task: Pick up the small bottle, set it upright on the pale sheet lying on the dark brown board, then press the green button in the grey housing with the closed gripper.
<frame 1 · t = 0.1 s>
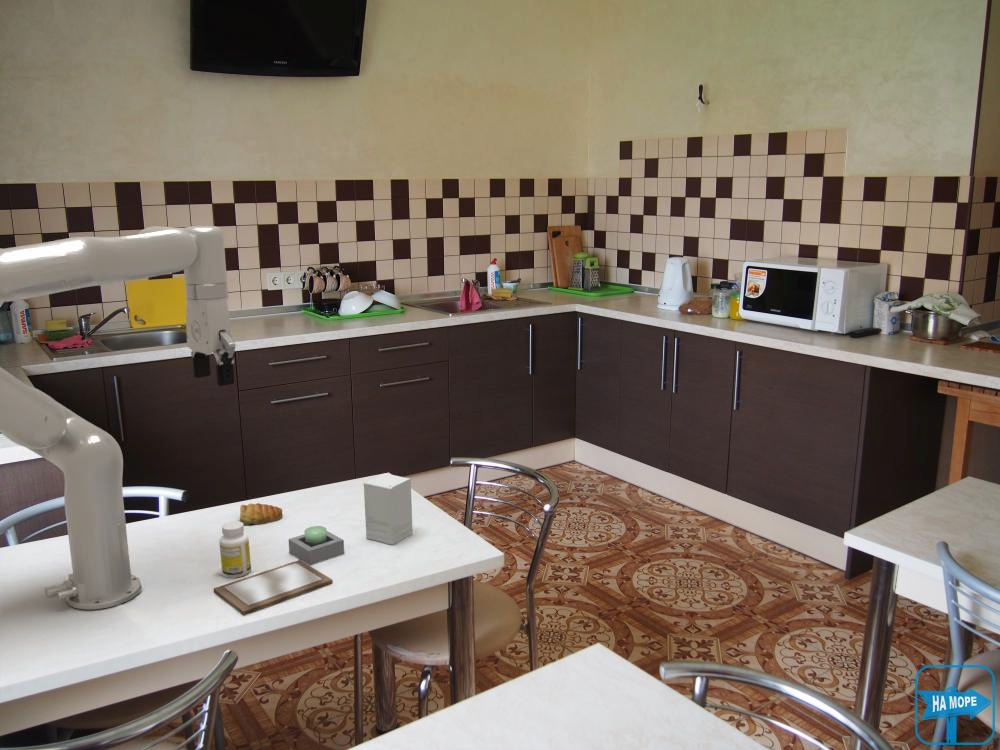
hand: (214, 380, 166), 37 cm above the table, tool pointing down, fingers open, 9 cm apart
board: (273, 587, 160), on the table
supplement box: (389, 537, 184), on the table
button: (315, 534, 174), point 4 cm above the table, slide at 0.0 cm
button housing: (316, 553, 175), on the table
pastry: (258, 520, 193), on the table
supplement bottle: (236, 573, 167), on the table
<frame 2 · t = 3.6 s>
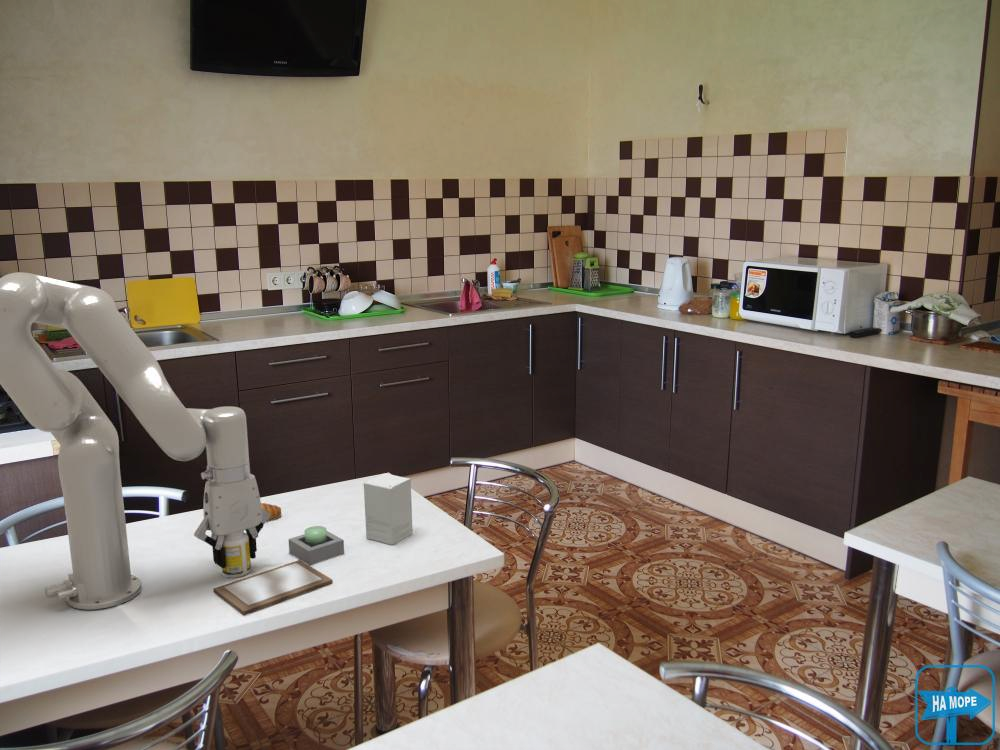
hand: (235, 560, 166), 3 cm above the table, tool pointing down, fingers closed on supplement bottle, 5 cm apart
supplement bottle: (236, 573, 167), on the table, touching gripper
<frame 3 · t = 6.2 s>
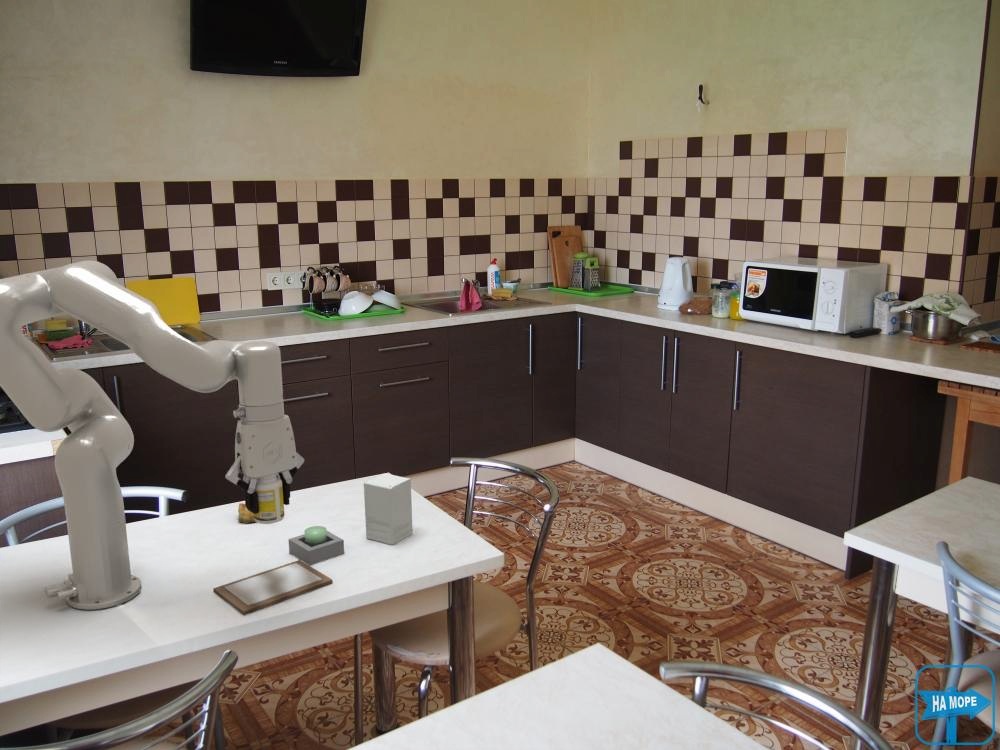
hand: (268, 506, 157), 16 cm above the table, tool pointing down, fingers closed on supplement bottle, 5 cm apart
supplement bottle: (269, 520, 157), point 13 cm above the table, touching gripper
when the fingers open (4 cm above the table, at t = 9.0 s): supplement bottle stays where it is, resting on board.
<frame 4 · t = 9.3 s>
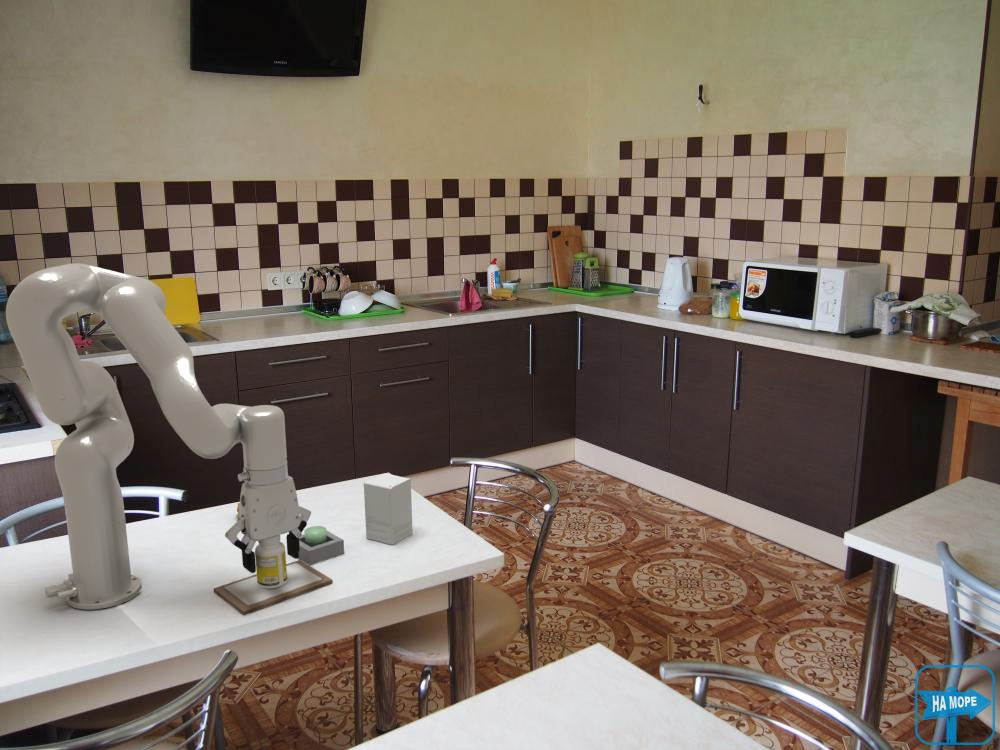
hand: (272, 563, 159), 5 cm above the table, tool pointing down, fingers open, 8 cm apart
supplement bottle: (272, 584, 160), point 1 cm above the table, touching board
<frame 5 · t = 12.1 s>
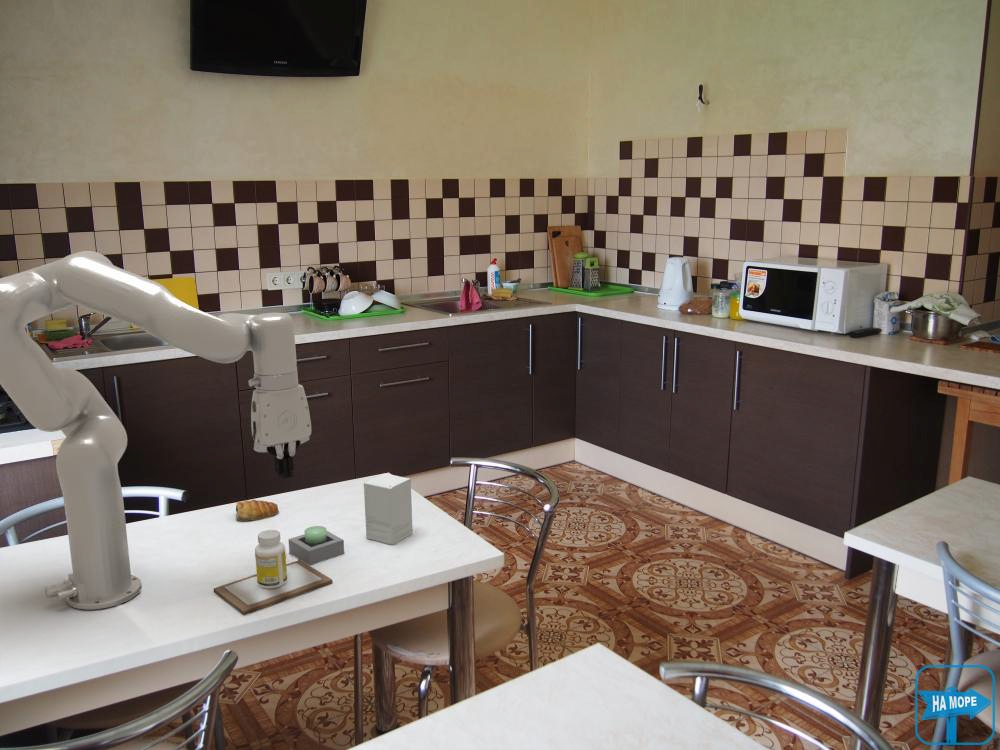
hand: (284, 476, 161), 20 cm above the table, tool pointing down, fingers closed
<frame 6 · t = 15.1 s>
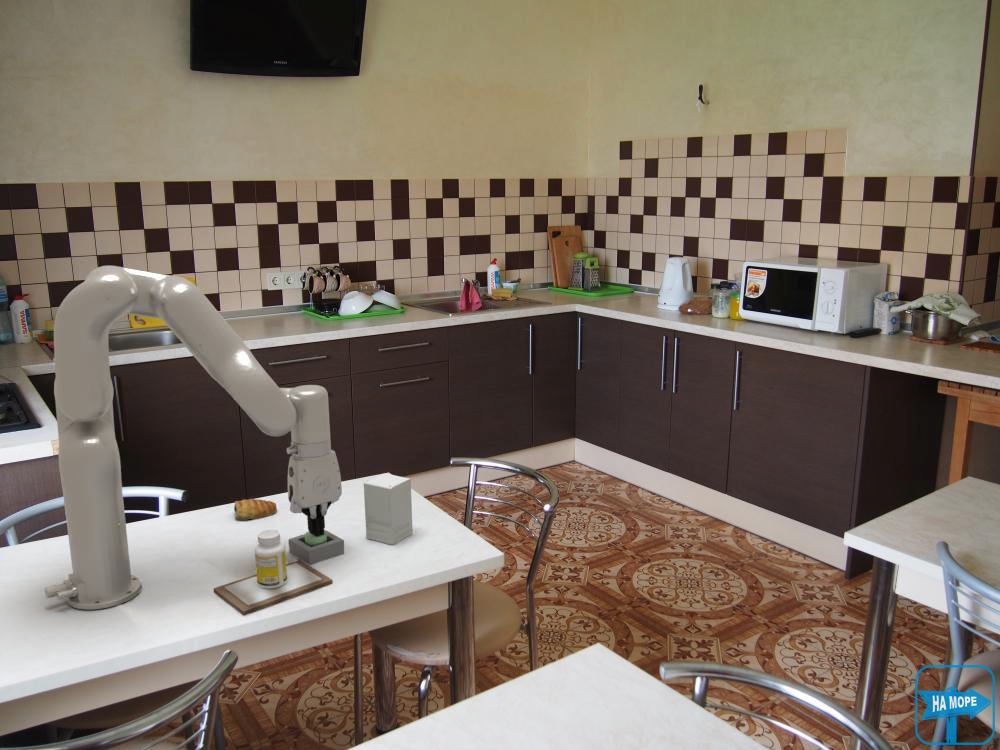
hand: (316, 533, 175), 4 cm above the table, tool pointing down, fingers closed
button: (315, 538, 175), point 3 cm above the table, slide at -0.9 cm, touching gripper
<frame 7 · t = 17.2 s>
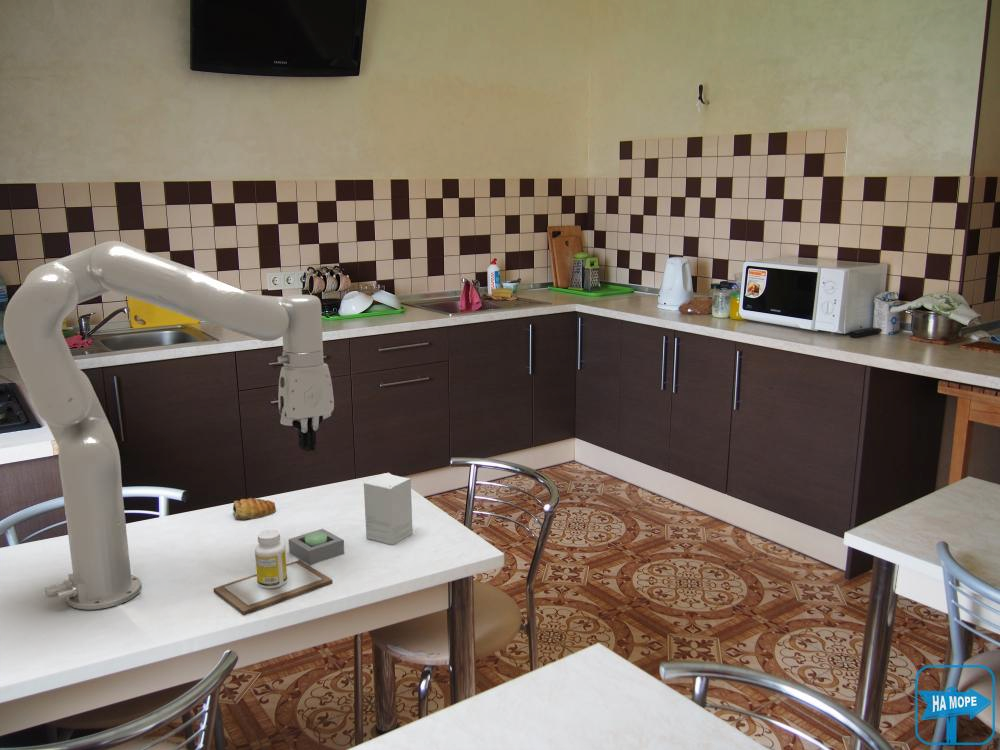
hand: (307, 449, 171), 22 cm above the table, tool pointing down, fingers closed
button: (316, 540, 175), point 3 cm above the table, slide at -1.3 cm
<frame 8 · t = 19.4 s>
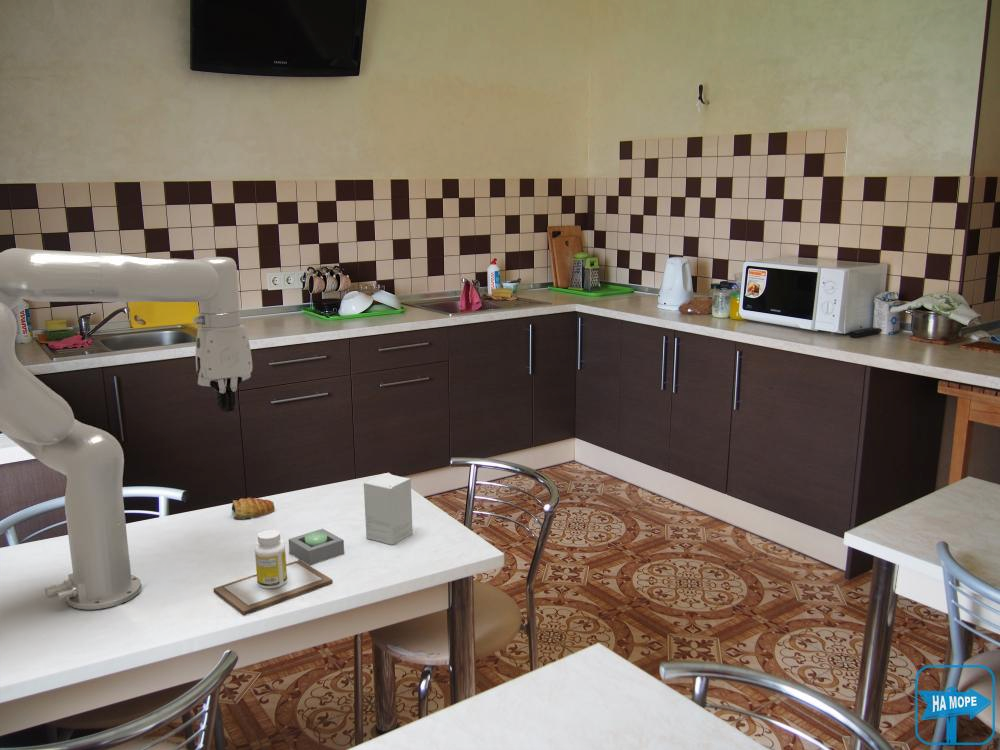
hand: (227, 410, 173), 29 cm above the table, tool pointing down, fingers closed
at the end: supplement bottle inside the target area on the board (0.2 cm from its centre), point 0.8 cm above the board's base; supplement bottle tilted 0°; button slide at -1.3 cm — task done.
